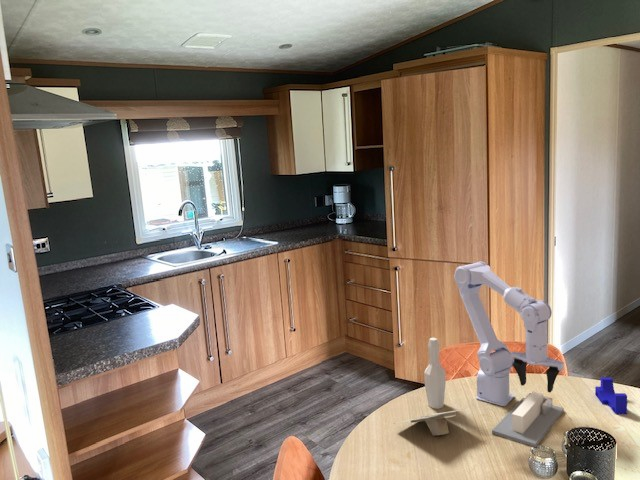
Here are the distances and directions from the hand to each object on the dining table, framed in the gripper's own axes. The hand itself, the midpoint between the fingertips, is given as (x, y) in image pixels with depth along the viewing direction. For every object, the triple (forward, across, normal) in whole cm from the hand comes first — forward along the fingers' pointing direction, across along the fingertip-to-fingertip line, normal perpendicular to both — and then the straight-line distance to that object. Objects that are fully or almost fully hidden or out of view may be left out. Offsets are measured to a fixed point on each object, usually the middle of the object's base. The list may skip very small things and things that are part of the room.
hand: (536, 387), depth 152 cm
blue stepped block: (+10, +15, +20) cm, 26 cm away
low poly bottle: (+10, -28, -10) cm, 31 cm away
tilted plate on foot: (+10, -22, -24) cm, 33 cm away
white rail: (+8, -1, -4) cm, 9 cm away
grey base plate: (+9, -1, -4) cm, 10 cm away
